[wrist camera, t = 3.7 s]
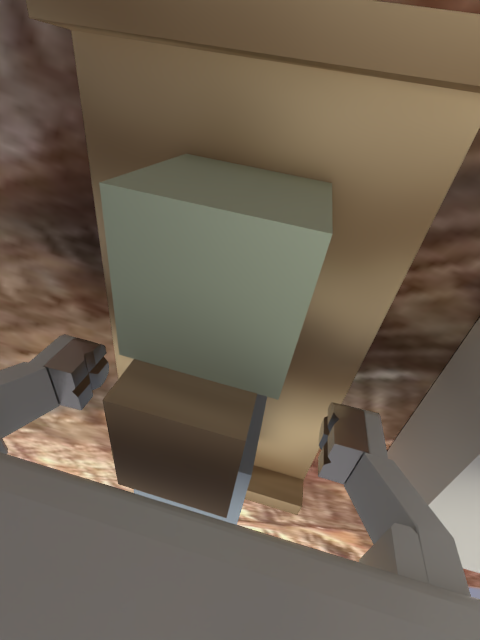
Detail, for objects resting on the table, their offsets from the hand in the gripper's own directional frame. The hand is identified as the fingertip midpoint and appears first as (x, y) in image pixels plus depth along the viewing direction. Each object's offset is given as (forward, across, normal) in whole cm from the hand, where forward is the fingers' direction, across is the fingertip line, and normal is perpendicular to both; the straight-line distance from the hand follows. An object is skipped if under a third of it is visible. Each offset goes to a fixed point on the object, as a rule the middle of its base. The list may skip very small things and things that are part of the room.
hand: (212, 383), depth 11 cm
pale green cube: (+3, 0, -4) cm, 5 cm away
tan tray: (+5, 0, 0) cm, 5 cm away
